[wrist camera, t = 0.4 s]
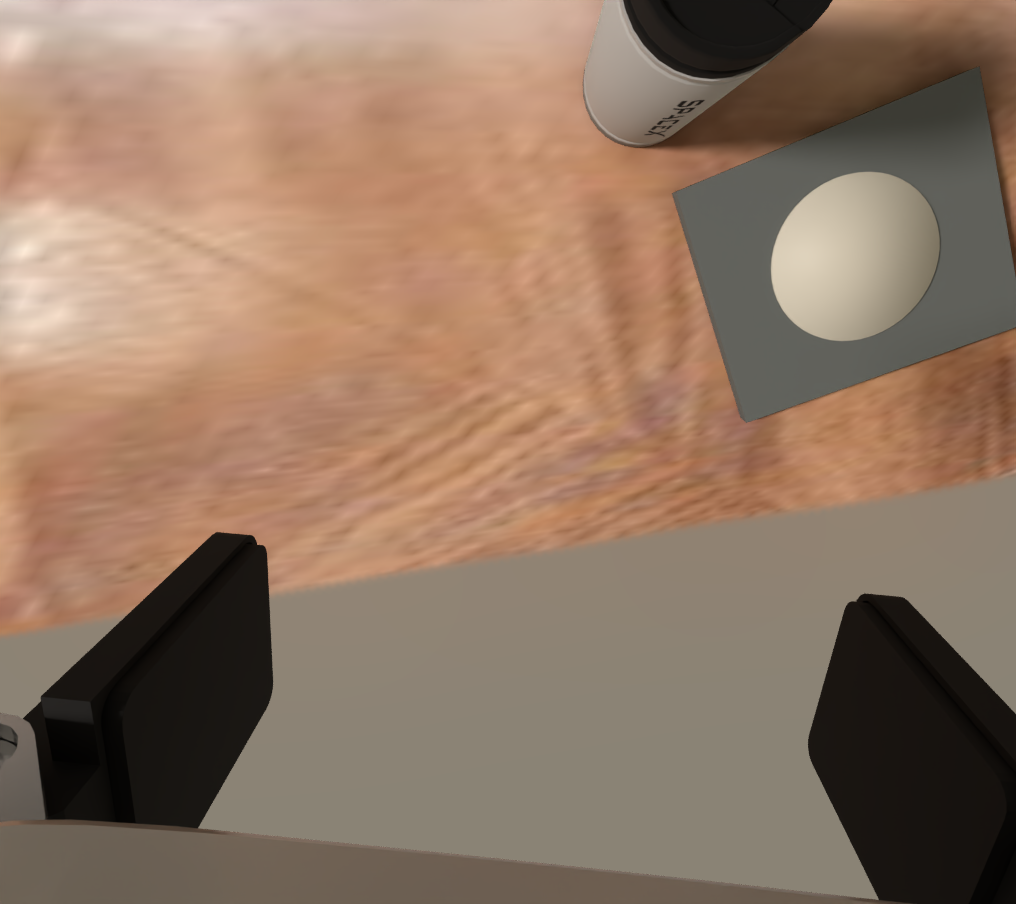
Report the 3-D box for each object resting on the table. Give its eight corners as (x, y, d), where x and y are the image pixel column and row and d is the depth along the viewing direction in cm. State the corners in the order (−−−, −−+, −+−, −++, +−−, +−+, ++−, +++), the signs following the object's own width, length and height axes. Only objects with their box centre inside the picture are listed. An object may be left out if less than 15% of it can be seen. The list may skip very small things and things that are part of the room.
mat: (964, 71, 35) (981, 65, 34) (1009, 321, 39) (1026, 324, 38) (671, 193, 38) (677, 191, 36) (740, 417, 41) (747, 423, 40)
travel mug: (624, -14, 35) (732, -319, 16) (723, 67, 36) (938, -128, 17) (554, 97, 36) (572, -55, 17) (650, 171, 37) (767, 104, 18)
